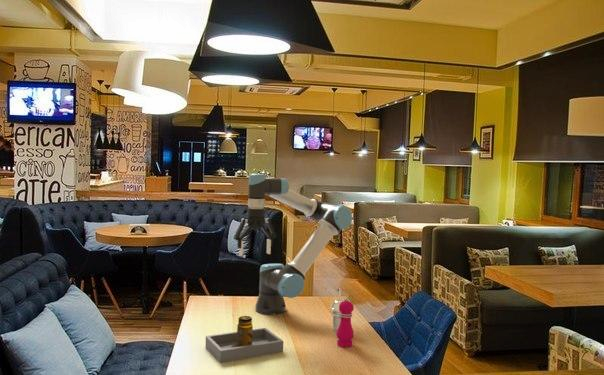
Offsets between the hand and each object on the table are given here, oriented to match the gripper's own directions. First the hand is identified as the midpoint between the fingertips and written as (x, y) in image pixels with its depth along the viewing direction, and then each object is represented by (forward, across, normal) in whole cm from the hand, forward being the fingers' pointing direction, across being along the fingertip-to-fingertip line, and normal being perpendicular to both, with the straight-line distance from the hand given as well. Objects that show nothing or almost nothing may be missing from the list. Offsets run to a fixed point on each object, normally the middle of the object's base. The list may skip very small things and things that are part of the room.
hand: (254, 254), depth 237 cm
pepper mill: (+32, +24, -40) cm, 57 cm away
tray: (+32, -16, -28) cm, 46 cm away
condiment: (+31, -17, -28) cm, 45 cm away
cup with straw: (+32, +31, -24) cm, 51 cm away
